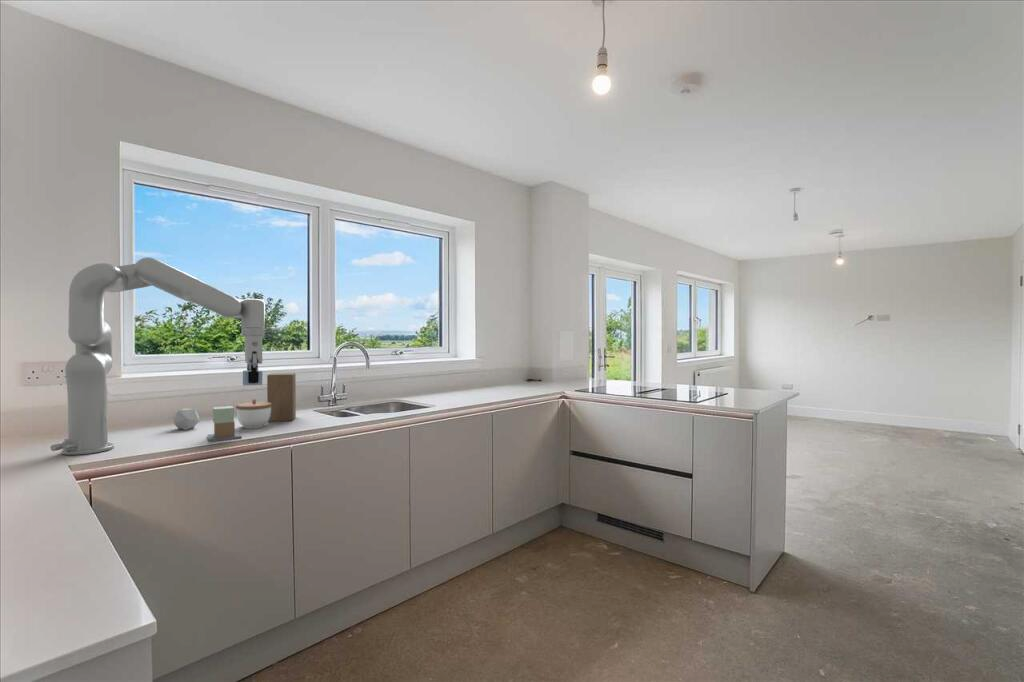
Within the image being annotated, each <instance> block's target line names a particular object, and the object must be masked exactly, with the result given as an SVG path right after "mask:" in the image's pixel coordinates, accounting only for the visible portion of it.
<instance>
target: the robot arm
mask: <svg viewBox="0 0 1024 682" xmlns="http://www.w3.org/2000/svg"><path fill="white" fill-rule="evenodd" d="M148 287H154V288H157V289H159V290H161V291H163V292H165V293H167V294H170V295H172V296H174V297H176V298H179V299H180V300H183V301H186V302H190V303H192V304H193V303H194V304H196V305H198V306H200V307H202V308H205V309H207V310H209V311H212V312H213V313H216V314H218V315H220V316H221V317H223V318H224V319H238V318H241V331H240V332H241V333H240V336H241V338H242V337H244V361H245V363H246V370H249V372H248V383H258V381H259V372H258V370H259V364H260V365H261V364H263V340H262V338H265V335H266V334H265V330H266V328H265V327H266V326H265V324H266V323H265V322H266V317H265V316H266V303H265V301H264V300H263V299H259V298H245V299H239V298H236V297H234V296H233V295H231V294H229V293H227V292H224V291H222V290H220V289H218V288H216V287H214V286H211V285H210V284H207V283H206V282H204V281H202V280H200V279H199V278H196V277H195V276H192V275H190V274H188V273H187V272H184V271H182V270H179V269H177V268H175V267H174V266H172V265H169V264H167V263H165V262H163V261H161V260H159V259H157V258H153V257H147V256H146V257H142V258H141V259H138V260H137V261H136V262H135V263H132V264H131V263H130V264H126V265H117V266H115V265H114V264H110V263H102V262H101V263H95V264H91V265H89V266H86V267H84V268H83V269H81V270H79V271H78V272H77V273H76V274H75V275H74V276H73V278H72V280H71V282H70V285H69V291H68V292H69V293H68V330H67V333H68V337H69V339H70V341H71V342H72V343H73V344H75V354H73V355H72V356H71V357H70V358H69V359H68V360H67V362H66V365H65V369H64V371H65V372H64V373H65V381H66V390H67V391H66V392H67V393H66V394H67V438H64V441H63V442H62V443H54V444H51V445H50V450H51V451H52V452H56V451H60V450H61V454H63V455H66V456H71V455H72V456H74V455H75V456H77V455H89V454H95V453H101V452H107V451H109V450H112V449H114V447H115V444H114V443H112V442H108V439H109V438H108V435H109V434H108V433H109V432H108V389H107V375H108V373H110V371H111V369H112V367H113V334H112V333H113V332H112V329H111V326H110V324H108V322H106V321H105V301H104V300H105V299H104V298H105V297H104V295H105V293H106V292H107V293H120V292H126V291H132V290H136V289H141V288H148Z"/></svg>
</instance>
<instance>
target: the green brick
mask: <svg viewBox="0 0 1024 682" xmlns="http://www.w3.org/2000/svg"><path fill="white" fill-rule="evenodd" d="M234 409H235V408H234V406H232V405H226V406H225V405H224V406H223V405H222V406H214V407H212V419H213V420H212V422H213V425H214V424H215V423H227V422H235V417H234V415H235V413H234V411H235V410H234Z"/></svg>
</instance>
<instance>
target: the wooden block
mask: <svg viewBox="0 0 1024 682" xmlns="http://www.w3.org/2000/svg"><path fill="white" fill-rule="evenodd" d="M266 378H267V380H266V382H267V383H266V386H267V387H266V389H267V390H266V391H267V392H266V393H267V397H266V398H267V400H266V401H267V402H269V403H271V404H272V406H271V415H270V419H269V420H268V422H267V423H271V422H272V423H275V422H292V421H294V420H295V418H296V414H297V413H296V412H297V410H296V409H297V408H296V407H297V405H296V402H297V400H296V398H297V397H296V396H297V395H296V394H297V393H296V390H297V388H296V385H297V384H296V372H271V373H269V374H267V376H266Z"/></svg>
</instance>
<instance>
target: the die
mask: <svg viewBox="0 0 1024 682" xmlns="http://www.w3.org/2000/svg"><path fill="white" fill-rule="evenodd" d="M172 417H173V424H174V425H175V427H176V428H177V429H178V430H184V431H189V430H190V429H194V428H195V427H196V426H197V425H198V423H200V417H199V413H198V412H197V411H196V409H194V408H186V407H185V408H183V409H179V410H178V411H177V412H176V413H175V414H174V416H172Z"/></svg>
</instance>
